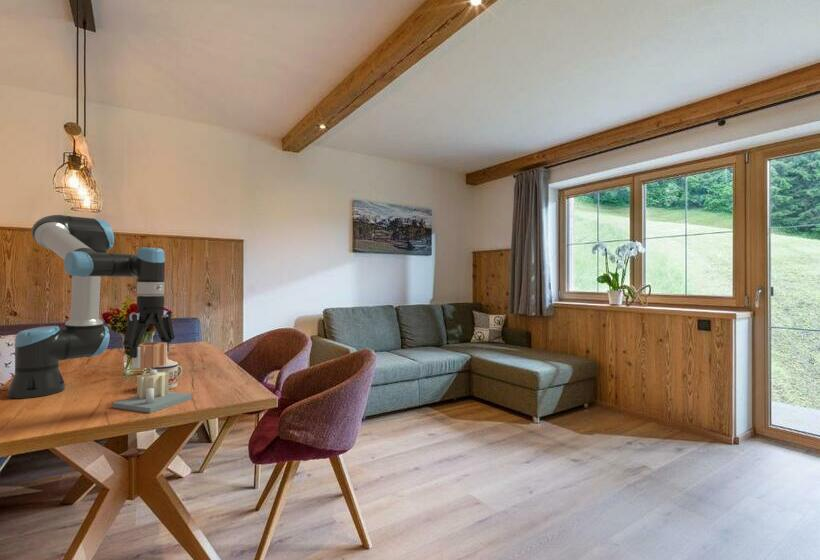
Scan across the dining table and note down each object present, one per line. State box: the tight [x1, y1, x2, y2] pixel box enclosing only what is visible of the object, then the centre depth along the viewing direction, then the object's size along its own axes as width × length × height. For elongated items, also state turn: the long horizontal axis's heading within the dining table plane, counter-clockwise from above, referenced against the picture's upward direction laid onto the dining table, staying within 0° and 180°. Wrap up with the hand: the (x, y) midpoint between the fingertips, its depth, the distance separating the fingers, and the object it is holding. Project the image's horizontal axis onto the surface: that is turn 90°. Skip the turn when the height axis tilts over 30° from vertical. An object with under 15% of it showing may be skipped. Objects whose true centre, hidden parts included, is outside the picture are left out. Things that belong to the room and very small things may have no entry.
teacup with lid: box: [150, 356, 183, 390], centre depth 155 cm, size 12×9×12 cm
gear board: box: [112, 369, 193, 414], centre depth 135 cm, size 16×16×10 cm
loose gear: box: [138, 341, 166, 370], centre depth 130 cm, size 9×9×7 cm
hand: (150, 364), depth 130 cm, fingers closed on loose gear, 9 cm apart
